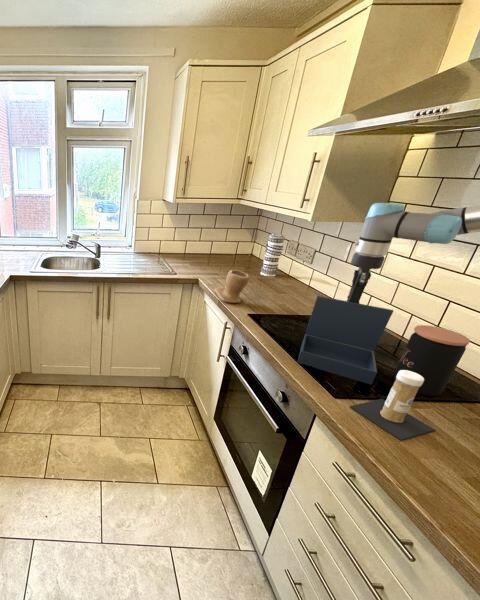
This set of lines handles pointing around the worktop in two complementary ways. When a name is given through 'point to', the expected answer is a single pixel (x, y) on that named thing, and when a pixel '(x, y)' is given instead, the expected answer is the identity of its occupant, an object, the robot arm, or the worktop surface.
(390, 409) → the sprinkles bottle
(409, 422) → the mat
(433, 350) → the coffee jar
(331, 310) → the chest lid
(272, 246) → the leaning tower model
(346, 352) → the chest
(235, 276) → the stone cup
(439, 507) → the worktop surface
